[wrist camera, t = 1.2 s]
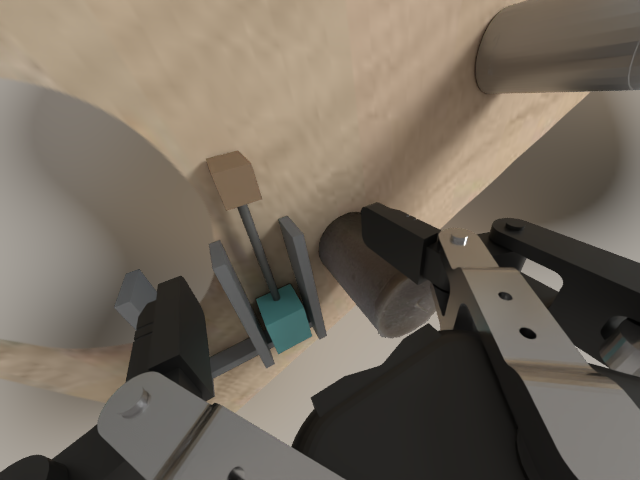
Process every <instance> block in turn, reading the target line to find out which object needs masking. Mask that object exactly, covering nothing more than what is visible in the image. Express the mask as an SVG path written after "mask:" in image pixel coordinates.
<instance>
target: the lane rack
mask: <svg viewBox="0 0 640 480" xmlns="http://www.w3.org/2000/svg"><path fill="white" fill-rule="evenodd" d="M278 220H279V224H280V227H281V231H282V234H283V237H284V241H285V244H286V248H287V251H288V255H289V258H290V262H291V265H292V269H293V272H294V275H295V279H296V282H297V286H298V289H299V293H300V296H301V300H302V303H303V306H304V310H305V313H306V317H307V320H308V323H309V327H310V328H311V327H313V329H314V330H315V332H316V334H317V336H318V338H319V339H321V338H323V337H325V336H327V334H326V330H325V326H324V321H323V317H322V313H321V308H320V304H319V300H318V295H317V291H316V287H315V282H314V278H313V274H312V269H311V265H310V261H309V256H308V252H307V248H306V243H305V239H304V235H303V233H302V232H301V230H300V229H299V228H298V227H297V226H296V225H295V224H294V223H293V221H292V220H291V219H290V218H289V217H288V216H286V217H283V218H280V219H278ZM209 248H210V255H211V261H212V268H213V271H214V272H215V274H216V276H217V278H218V280H219V282H220V284H221V285H222V287H223V289H224V291H225V293H226V295H227V296H228V298H229V300H230V302H231V304H232V306H233V308H234V309H235V311H236V313H237V315H238V317H239V319H240V320H241V322H242V324H243V326H244V328H245V330H246V332H247V333H248V335H249V337H250V338H248V339H246V340H244V341H242V342H240V343H238V344H236V345H234V346H232V347H230V348H228V349H226V350H224V351H222V352H220V353H218V354H216V355H214V356H212V357H210V366H211V375H212V383H213V378H215V377H217V376H219V375H221V374H223V373H225V372H227V371H229V370H231V369H232V368H234V367H236V366H238V365H240V364H242V363H244V362H246V361H248V360H250V359H252V358H254V357H255V356H257V355H259V356H260V357H261V359H262V361H263V363H264V365H265V367H266V368H268V367H270V366H272V365H274V364H275V363H274V360H273V357H272V354H271V351H270V349H271V348H273V347H275V346H274V344H273V342H272V339H271V337H270V335H269V333H268V331H267V329H266V330H264V331H263V330H262V328H261V326H260V323H259V321H258V319H257V317H256V315H255V313H254V311H253V309H252V307H251V305H250V302H249V300H248V298H247V296H246V294H245V292H244V290H243V288H242V286H241V283H240V281H239V279H238V277H237V275H236V273H235V271H234V269H233V267H232V265H231V262H230V260H229V258H228V256H227V254H226V252H225V250H224V248H223V246H222V244H221V241H220V240H219V241H216V242H213V243H211V244H209ZM156 297H157V291H156V290H155V289H154V288H153V287H152V285H151V284H150V282H149V281H148V280H147V279H146V277H145V276H144V275H143V273H142V272H141V271H140V269H138V270H135V271H132V272H130V273H127V274H126V275H125V278H124V281H123V283H122V286H121V289H120V292H119V295H118V298H117V300H116V303H115V306H114V308H115V309H116V310H117V311H118V312H119V313H120V314H121V315H122V316H123V317H124V319H126V321H128V323H129V324H130V325H131V326H132V327H133V328H134V329H135V330H136V326H137V321H138V316H139V315H140V313H141V312H142V310H143V309H144V307H145V306H146V304H147V303H149V302H152V301H154V300H156ZM136 331H137V330H136ZM213 392H214V383H213ZM214 397H215V394H214Z"/></svg>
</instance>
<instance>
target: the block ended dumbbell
mask: <svg viewBox="0 0 640 480" xmlns="http://www.w3.org/2000/svg"><path fill="white" fill-rule="evenodd" d="M206 161H207V164H208V167H209V170H210V173H211V176H212V178H213V180H214V183H215V185H216V187H217V190H218V192H219V195H220V197H221V199H222V202H223V204H224V206H225V209H226V211H227V210H230V209H233V208H236V207H237V208H238V211H239V213H240V216H241V218H242V221H243V224H244V226H245V229H246V231H247V234H248V236H249V239H250V242H251V244H252V247H253V249H254V252H255V254H256V257H257V260H258V262H259V265H260V267H261V270H262V272H263V275H264V278H265V280H266V283H267V285H268V288H269V290H270V293H268V294H266V295H264V296H262V297H260V298H257V299H256V300H257V303H258V306H259V309H260V312H261V315H262V318H263V320H264V323H265V326H266V328H267V331H268V333H269V335H270V337H271V339H272V342H273V344H274V346H275V348H276V350H277V352H278V354H280V353H281V352H283V351H285V350H287V349H289V348H291V347H293V346H295V345H296V344H298V343H300V342H302V341H304V340H306V339H308V338H310V337H311V336H312V334H311V330H310V327H309V323H308V320H307V317H306V313H305V310H304V307H303V305H302V303H301V302H300V300H299V298H298V296H297V295H296V293H295V291H294V289H293V288H292V286H291V284H289V285H286V286H284V287H282V288H280V289H277V286H276V283H275V281H274V278H273V275H272V272H271V269H270V267H269V264H268V261H267V258H266V256H265V253H264V250H263V247H262V244H261V242H260V239H259V236H258V233H257V231H256V228H255V225H254V222H253V219H252V217H251V214H250V211H249V208H248V206H247V204H249V203H252V202H255V201H258V200H261V199H262V196H261V193H260V190H259V187H258V184H257V181H256V177H255V174H254V171H253V168H252V165H251V163H250V162H249V161H248V160H247V159H246V158H245V157H244V156H243V155H242V154H241V153H240V152H239V151H234V152H230V153H227V154H223V155H219V156H215V157H211V158H207V159H206Z"/></svg>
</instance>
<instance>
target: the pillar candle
mask: <svg viewBox="0 0 640 480" xmlns="http://www.w3.org/2000/svg"><path fill="white" fill-rule="evenodd" d="M319 256H320V259H321V261H322V263H323V264H324V265H325V266H326V268H327V269H328V270H329V271H330V273H331V274H332V275H333V276H334V278H335V279H336V280H337V281H338V283H339V284H340V285H341V286H342V287H343V289H344V290H345V291H346V292H347V294H348V295H349V296H350V297H351V298H352V300H353V301H354V302H355V303H356V305H357V306H358V307H359V308H360V309H361V311H362V312H363V313H364V314H365V316H366V317H367V318H368V319H369V320H370V322H371V323H372V324H373V325H374V327H375V328H376V329H377V330H378V334H380V336H381V337H385V338H386V337H388V338H394V337H400V336H403V335H405V334H407V333H409V332H411V331H413V330H415V329H416V328H417V327H419V326H421V325H422V324H424V323H426V321H428V320H429V319H430V317H431V315H432V314H434V312H435V311H436V308H435V304H434V301H433V297H432V293H431V290H430V284H431V282H430V281H429V280H427V281H425V282H423V283H421V284H420V285H417V284H416V283H414V282H413V281H412V280H410V279H409V278H408V277H406V276H405V275H404V274H402V273H401V272H400V271H398V270H397V269H396V268H395V267H393V266H392V265H391V264H389V263H388V262H387V261H385V260H384V259H383V258H381V257H380V256H379V255H377V254H376V253H375V252H373V251H372V250H371V249H370V248H368V247H367V246H366V245H365V243H364V241H363V238H362V227H361V213H359V212H350V213H347V214H345V215H343V216H340V217H339V218H337V219H336V220H335V221H333V222H332V223H331V224H330V225H329V226H328V227H327V229H326V230H325V232H324V233H323V235H322V237H321V240H320V243H319Z"/></svg>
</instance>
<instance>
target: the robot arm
mask: <svg viewBox="0 0 640 480" xmlns="http://www.w3.org/2000/svg"><path fill="white" fill-rule="evenodd" d="M476 79H477V83H478V86H479V88H480V89H481V90H482V92H484V93H486V94H502V93H546V92H584V91H622V90H640V0H527V1H524V2H520V3H517V4H513V5H510V6H508V7H506V8H504V9H502V10H501V11H500V12H499V13H498V14H497V15H496V16H495V17H494V19H493V20H492V21H491V23H490V24H489V26H488V28H487V30H486V32H485V34H484V36H483V38H482V41H481V44H480V47H479V50H478V55H477V60H476ZM361 227H362V238H363V241H364V243H365V245H366V246H367V247H368V248H370V249H371V250H372V251H373V252H375V253H376V254H377V255H379V256H380V257H381V258H383V259H384V260H385V261H387V262H388V263H389V264H391V265H392V266H393V267H395V268H396V269H397V270H398V271H400V272H401V273H402V274H404V275H405V276H406V277H408V278H409V279H410V280H412V281H413V282H414V283H416V284H417V285H420V284H421V283H423V282H425V281H427V280H429V281H430V282H431V284H430V290H431V293H432V297H433V301H434V304H435V308H436V311H437V315H438V319H439V322H440V331H437V330H436V329H434V328H433V327H432V326H431V325H430V324H427V325H425V326H423V327H422V328H420V329H419V330H417V331H415V332H414V333H412V334H411V335H409V336H407V337H406V338H404V339H403V340H402V341H401V343H400V344H399V345H398V346H397V347H396V349H395V350H394V351H393V352H392V353H391V355H390V356H389V357H388V358H387V359H386V361H385V362H384V363H383V364H382V365H380V366H377V367H374V368H371V369H368V370H364V371H361V372H358V373H354V374H351V375H348V376H344V377H343V378H341V379H339V380H338V381H336V382H335V383H333V384H332V385H330V386H328V387H327V388H325V389H324V390H322V391H320V392H319V393H317V394H316V395H314V396H313V397H311V400H312V402H313V406H314V410H313V411H312V412H311V413H310V415H309V416H308V417H307V419H306V420H305V422H304V423H303V424H302V426H301V428H300V429H299V431H298V433H297V435H296V437H295V439H294V441H293V444H292V446H291V447H290V446H289V445H287V444H285V443H284V442H282V441H280V440H279V439H277V438H275V437H274V436H272V435H270V434H269V433H267V432H265V431H263V430H262V429H260V428H259V427H257V426H255V425H254V424H252V423H250V422H248V421H247V420H245V419H243V418H242V417H240V416H238V415H237V414H235V413H234V412H232V411H230V410H229V409H227V408H225V407H224V406H222V405H220V404H217V403H214V404H213V405H211V404H209V403H207V402H206V401H207V400H209V399H211V398H213V397H214V392H213V383H212V375H211V366H210V357H209V349H208V340H207V332H206V323H205V317H204V313H203V310H202V308H201V305H200V304H199V302H198V301H197V299H196V297H195V295H194V294H193V292H192V291H191V289H190V288H189V285H188V284H187V282H186V281H185V279H184V278H183V277H182V276H179V277H176V278H174V279H171V280H168V281H165V282H163V283H160V284H158V289H157V297H156V300H154V301H152V302H149V303H147V304H146V306H145V307H144V309H143V310H142V312H141V313H140V315H139V316H138V321H137V326H136V330H137V331H136V332H135V337H134V340H135V342H133V347H132V352H131V357H130V362H129V367H128V373H127V378H126V383H125V384H123V385H122V386H121V387H120V388H119V389H118V390H117V391H116V392H115V393H114V394H113V395H112V396H111V397H110V399H109V400H108V401H107V403H106V404H105V406H104V407H103V409H102V411H101V413H100V416H99V419H98V424H97V425H96V426H94V427H93V428H92V429H91V430H90V431H88V432H87V433H86V434H84V435H83V436H82V437H80V438H79V439H78V440H76V441H75V442H74V443H73V444H71V445H70V446H69V447H67V448H66V449H65V450H63V451H62V452H61V453H60V454H59V455H57V456H56V457H54V458H53V459H49V458H47V457H45V456H42V455H32V456H29V457H26V458H23V459H21V460H19V461H17V462H15V463H14V464H12V465H10V466H9V467H7V468H6V469H5V470H3V471H2V472H0V480H640V263H638V262H635V261H633V260H630V259H627V258H624V257H622V256H619V255H616V254H614V253H611V252H608V251H605V250H603V249H600V248H597V247H595V246H592V245H589V244H586V243H584V242H581V241H578V240H575V239H573V238H570V237H567V236H565V235H562V234H559V233H556V232H554V231H551V230H548V229H546V228H543V227H540V226H537V225H535V224H532V223H529V222H527V221H523V220H520V219H514V218H502V219H498V220H495V221H494V222H493V224H492V227H491V230H490V232H488V233H482V234H475V233H473V232H472V231H469V230H466V229H462V228H448V229H445V230H442V231H441V230H439V229H437V228H435V227H433V226H431V225H429V224H427V223H425V222H423V221H421V220H419V219H417V220H416V218H414V217H412V216H409V215H408V214H406V213H404V212H402V211H400V210H395V209H390V208H388V207H386V206H384V205H382V204H380V203H377V202H376V203H373V204H371V205H368V206H365V207H363V208H362V209H361ZM526 258H528V259H530V260H532V261H534V262H536V263H538V264H540V265H543V266H545V267H546V268H549V269H551V270H553V271H555V272H556V273H558V274H559V275H560V276H561V277H562V279H563V286H562V288H561V289H560V291H559V292H558V291H556V290H554V289H552V288H550V287H548V286H546V285H544V284H542V283H541V282H539V281H537V280H535V279H533V278H531V277H529V276H527V275H525V274H524V273H522V272H521V269H522V267H523V265H524V263H525V260H526ZM574 345H575V346H576V347H578V348H579V349H581V350H582V351H584V352H586V353H588V354H589V355H590V356H592V357H593V358H595V359H596V360H598V361H599V362H601V363H602V364H604V365H606V366H607V367H609V369H608V368H605V367H601V366H597V365H594V364H590V363H587V362H586V360H585V359H584V358H583V356H582V355H581V354H580V352H579V351H578V350H577V348H576V347H575V346H574Z"/></svg>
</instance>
